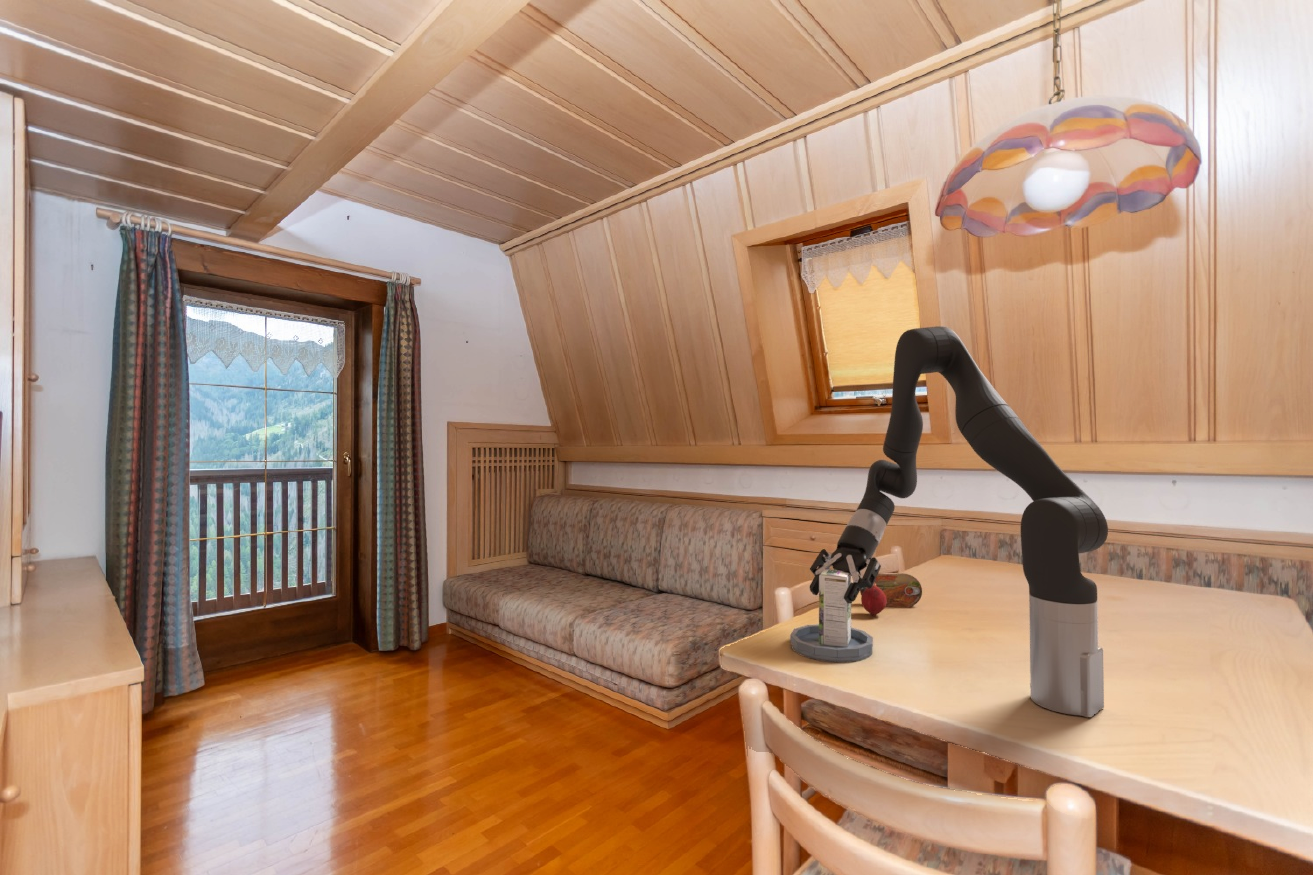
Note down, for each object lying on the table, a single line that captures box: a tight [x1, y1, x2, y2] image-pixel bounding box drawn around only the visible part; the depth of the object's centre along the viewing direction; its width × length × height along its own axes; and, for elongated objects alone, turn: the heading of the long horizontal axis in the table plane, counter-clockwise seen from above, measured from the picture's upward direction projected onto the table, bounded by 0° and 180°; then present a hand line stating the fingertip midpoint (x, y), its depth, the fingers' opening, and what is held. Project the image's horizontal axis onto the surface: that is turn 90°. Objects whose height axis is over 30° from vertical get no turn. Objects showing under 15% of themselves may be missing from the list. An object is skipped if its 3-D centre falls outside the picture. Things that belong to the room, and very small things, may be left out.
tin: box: [859, 572, 923, 608], centre depth 159 cm, size 15×3×8 cm, turn 81°
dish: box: [789, 623, 874, 663], centre depth 128 cm, size 16×16×2 cm
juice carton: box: [818, 568, 852, 647], centre depth 128 cm, size 6×6×14 cm
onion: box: [860, 583, 887, 617], centre depth 150 cm, size 6×6×8 cm
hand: (829, 596), depth 127 cm, fingers open, 8 cm apart
